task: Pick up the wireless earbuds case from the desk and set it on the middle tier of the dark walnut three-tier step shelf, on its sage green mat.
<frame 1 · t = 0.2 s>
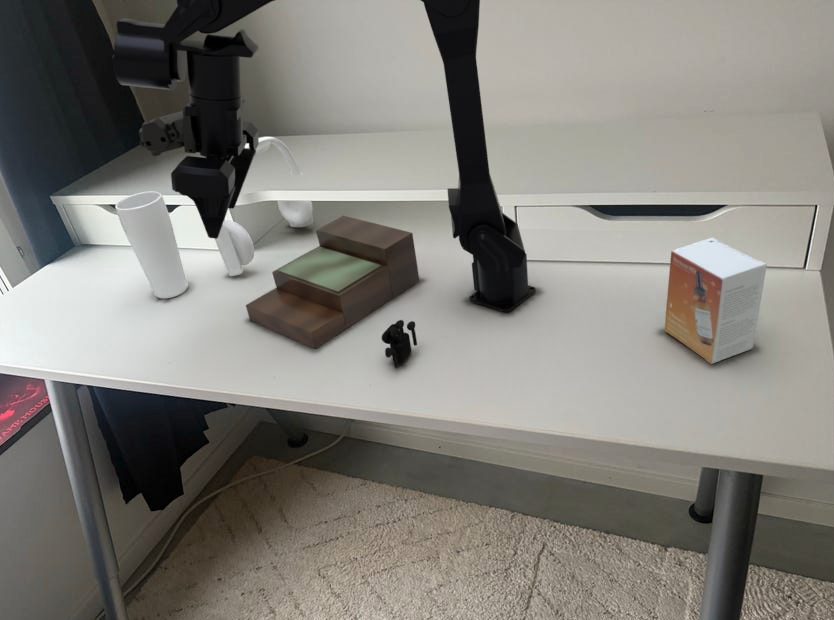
hand: (222, 222, 90), 15 cm above the table, tool pointing down, fingers open, 9 cm apart
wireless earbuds: (399, 360, 86), on the table
headset: (273, 252, 118), on the table
small box: (707, 342, 80), on the table
drinking glass: (172, 292, 111), on the table
step shelf: (335, 300, 101), on the table
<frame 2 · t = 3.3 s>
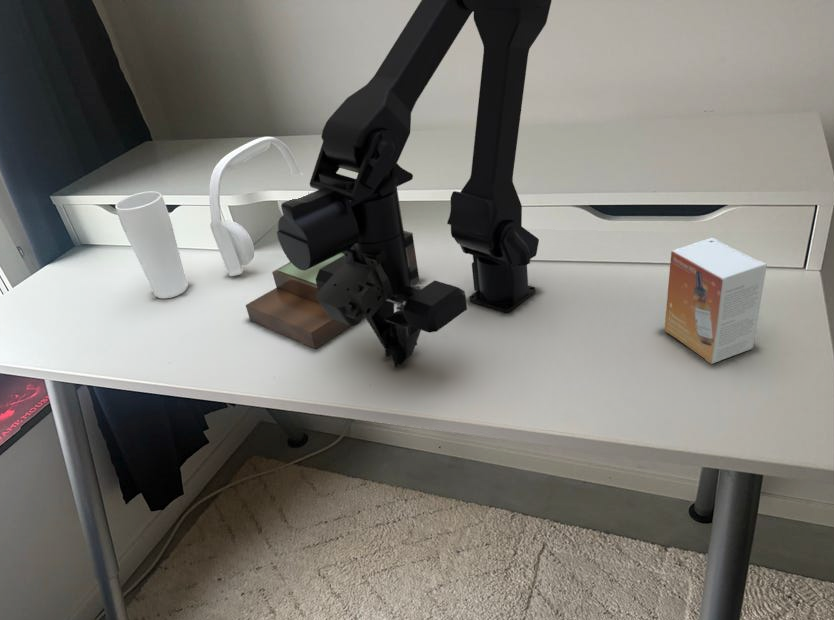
hand: (398, 352, 86), 1 cm above the table, tool pointing down, fingers closed on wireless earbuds, 3 cm apart
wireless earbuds: (399, 360, 86), on the table, touching gripper
everything else where it was.
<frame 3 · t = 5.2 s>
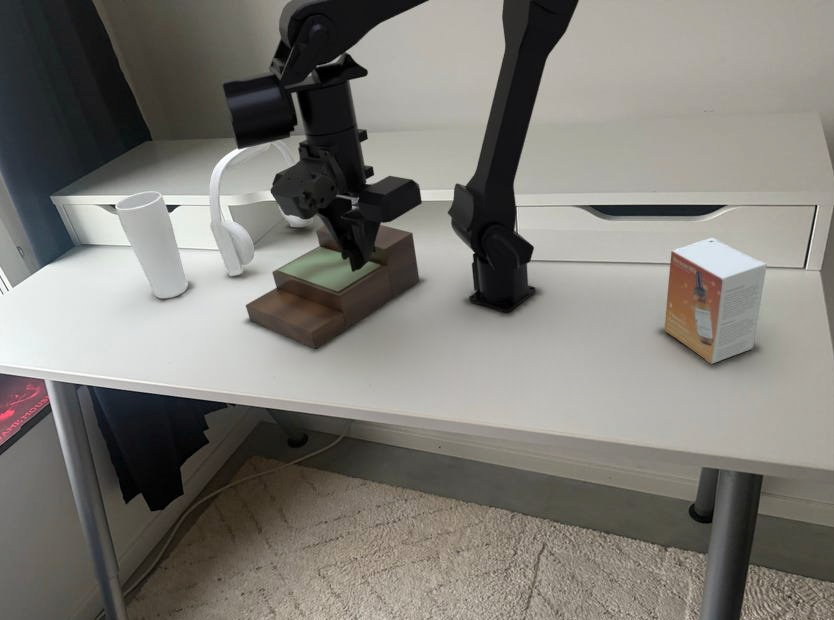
hand: (357, 257, 86), 11 cm above the table, tool pointing down, fingers closed on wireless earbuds, 3 cm apart
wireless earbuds: (358, 267, 86), point 10 cm above the table, touching gripper
everything else where it was.
when the fingers open (6 cm above the table, at t = 7.4 s): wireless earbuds stays where it is, resting on step shelf.
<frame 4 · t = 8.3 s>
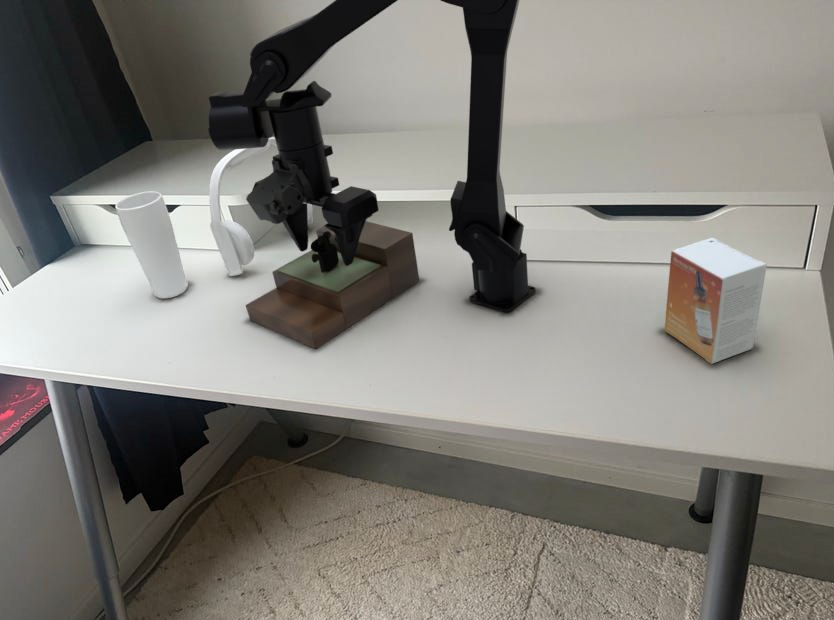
hand: (325, 257, 97), 7 cm above the table, tool pointing down, fingers open, 9 cm apart
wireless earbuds: (328, 269, 98), point 5 cm above the table, touching step shelf
everything else where it was.
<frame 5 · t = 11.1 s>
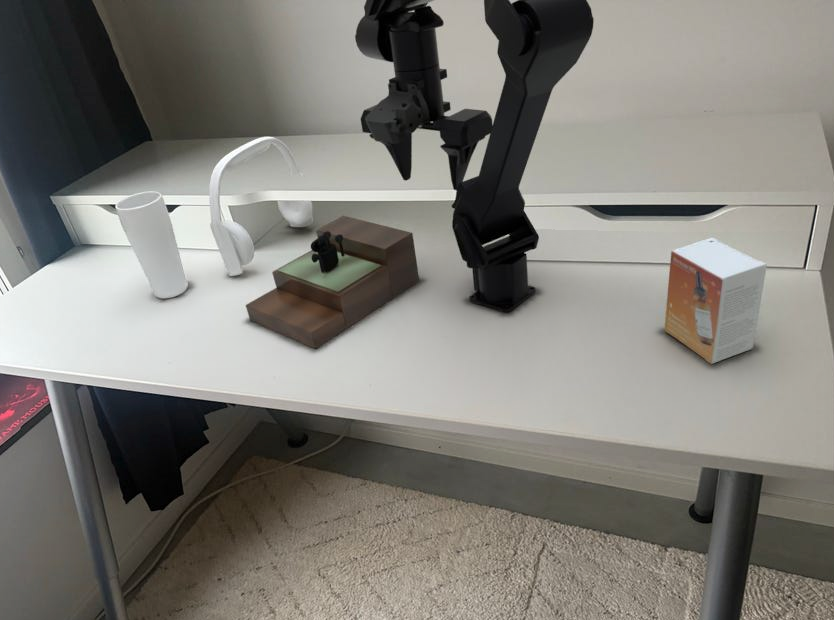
hand: (431, 184, 99), 12 cm above the table, tool pointing down, fingers open, 9 cm apart
nothing on the table moved.
at the end: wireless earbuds inside the target area on the step shelf (0.1 cm from its centre), point 5.0 cm above the step shelf's base; the gripper is holding nothing; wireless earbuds tilted 0° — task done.
